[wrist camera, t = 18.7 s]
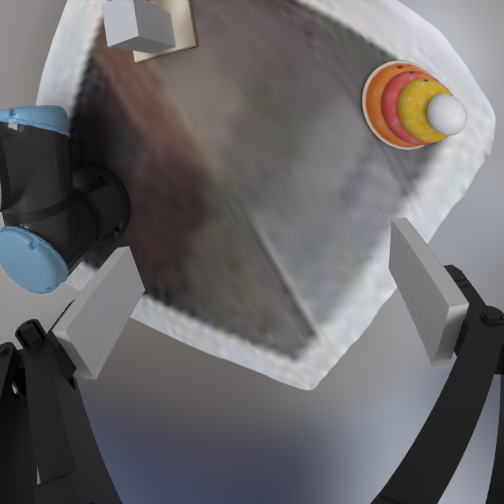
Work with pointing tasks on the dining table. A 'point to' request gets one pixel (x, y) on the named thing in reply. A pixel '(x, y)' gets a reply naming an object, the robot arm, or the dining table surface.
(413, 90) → the stacking toy
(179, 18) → the base board
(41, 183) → the robot arm
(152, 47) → the grey pillar
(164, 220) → the dining table surface
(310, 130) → the dining table surface
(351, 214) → the dining table surface
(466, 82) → the dining table surface
